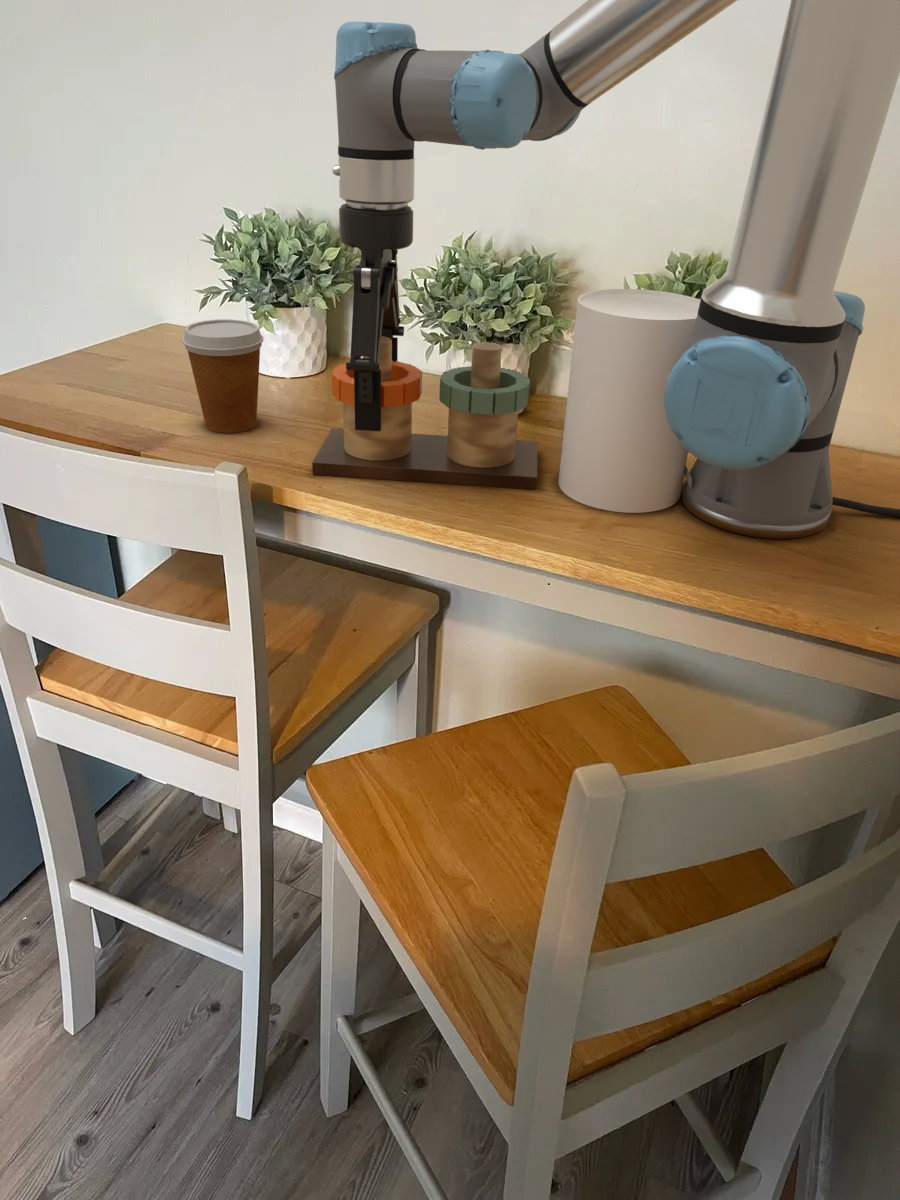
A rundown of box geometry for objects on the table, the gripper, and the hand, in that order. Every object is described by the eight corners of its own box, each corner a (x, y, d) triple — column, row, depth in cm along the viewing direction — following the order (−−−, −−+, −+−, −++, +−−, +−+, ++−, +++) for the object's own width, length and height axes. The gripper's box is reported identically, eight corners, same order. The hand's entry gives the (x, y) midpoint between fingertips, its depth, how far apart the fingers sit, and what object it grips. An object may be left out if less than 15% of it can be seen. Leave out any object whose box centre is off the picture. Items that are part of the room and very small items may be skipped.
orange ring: (425, 382, 105) (425, 362, 103) (415, 410, 96) (415, 388, 95) (342, 377, 105) (341, 357, 104) (325, 404, 97) (324, 382, 96)
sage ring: (528, 389, 104) (530, 368, 103) (527, 417, 96) (529, 395, 94) (444, 384, 104) (444, 363, 103) (435, 411, 96) (436, 389, 95)
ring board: (536, 453, 108) (546, 336, 101) (536, 489, 99) (547, 364, 92) (332, 439, 110) (328, 323, 103) (312, 474, 100) (306, 349, 93)
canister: (541, 496, 98) (559, 307, 87) (579, 455, 108) (600, 283, 98) (664, 522, 93) (698, 327, 83) (691, 477, 103) (725, 299, 93)
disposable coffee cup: (227, 443, 107) (217, 343, 101) (176, 425, 112) (163, 328, 106) (285, 423, 114) (279, 328, 108) (234, 406, 119) (226, 314, 113)
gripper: (360, 187, 101) (362, 376, 112) (313, 219, 80) (322, 446, 92) (426, 191, 101) (422, 380, 112) (396, 223, 80) (395, 451, 91)
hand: (377, 410), depth 102 cm, fingers open, 12 cm apart
